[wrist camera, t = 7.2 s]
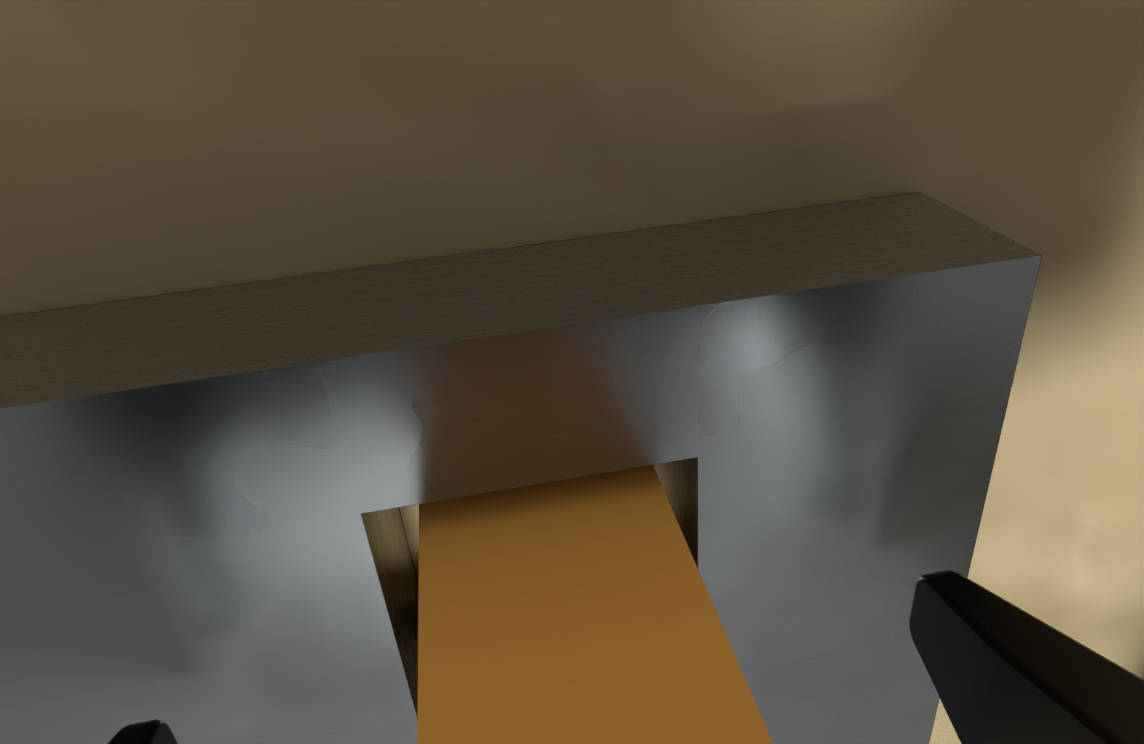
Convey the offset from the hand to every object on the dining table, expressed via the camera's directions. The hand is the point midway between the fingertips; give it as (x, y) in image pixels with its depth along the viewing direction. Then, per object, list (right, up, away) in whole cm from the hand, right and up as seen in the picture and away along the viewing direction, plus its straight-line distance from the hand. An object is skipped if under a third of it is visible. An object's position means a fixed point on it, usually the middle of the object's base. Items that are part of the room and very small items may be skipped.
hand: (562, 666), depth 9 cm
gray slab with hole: (-1, 0, +4) cm, 4 cm away
